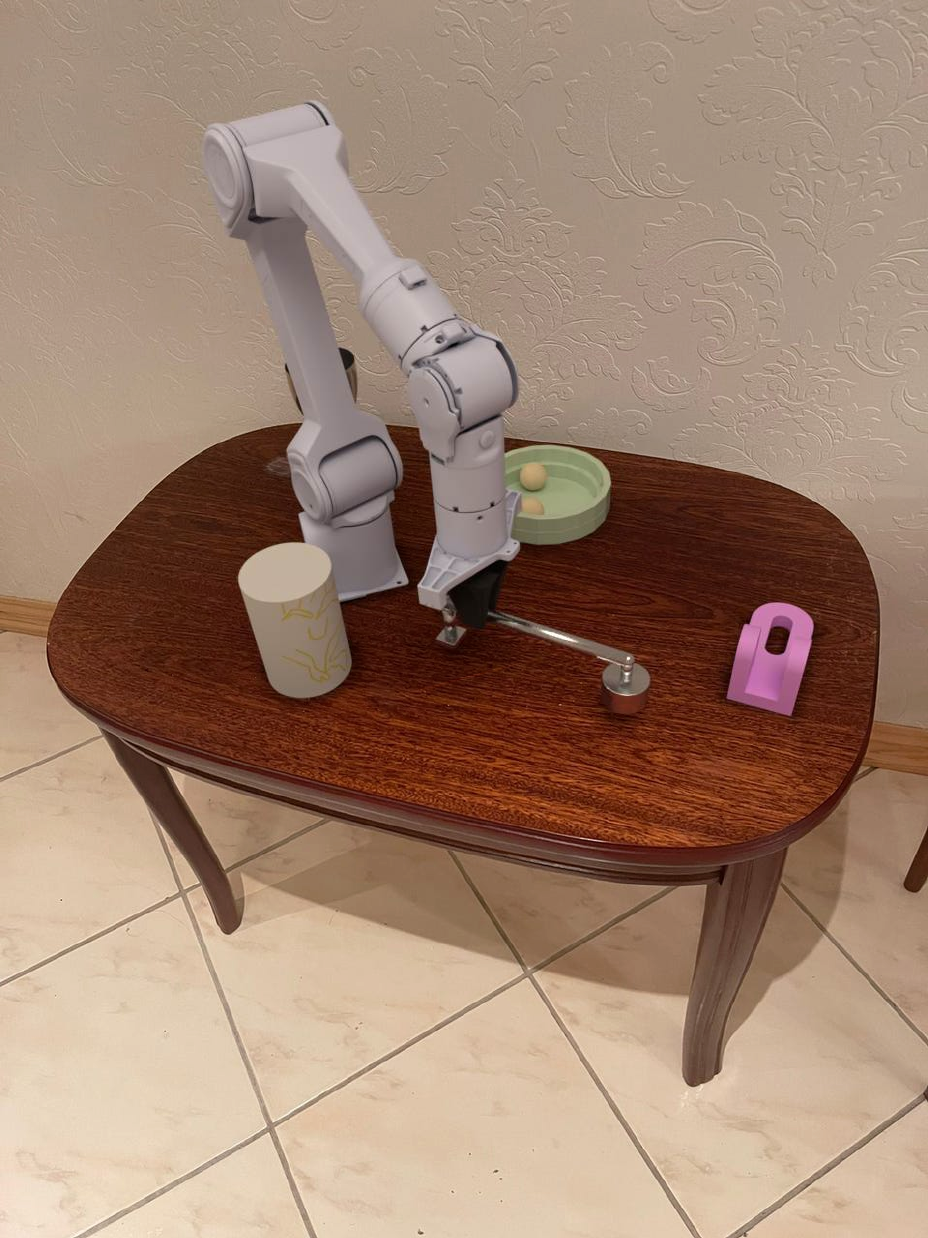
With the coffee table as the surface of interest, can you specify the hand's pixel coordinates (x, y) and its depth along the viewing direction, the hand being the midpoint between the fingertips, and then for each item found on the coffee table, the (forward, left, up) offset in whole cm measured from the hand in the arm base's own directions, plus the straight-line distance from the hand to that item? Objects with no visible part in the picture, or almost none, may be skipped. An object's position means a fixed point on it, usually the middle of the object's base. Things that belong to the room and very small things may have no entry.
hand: (477, 618), depth 79 cm
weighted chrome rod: (+4, -4, -4) cm, 6 cm away
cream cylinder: (-15, +6, -7) cm, 18 cm away
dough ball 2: (+12, +20, -6) cm, 24 cm away
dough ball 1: (+15, +26, -6) cm, 31 cm away
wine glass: (-6, +38, -7) cm, 40 cm away
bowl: (+15, +22, -7) cm, 28 cm away
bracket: (+26, -8, -7) cm, 28 cm away
